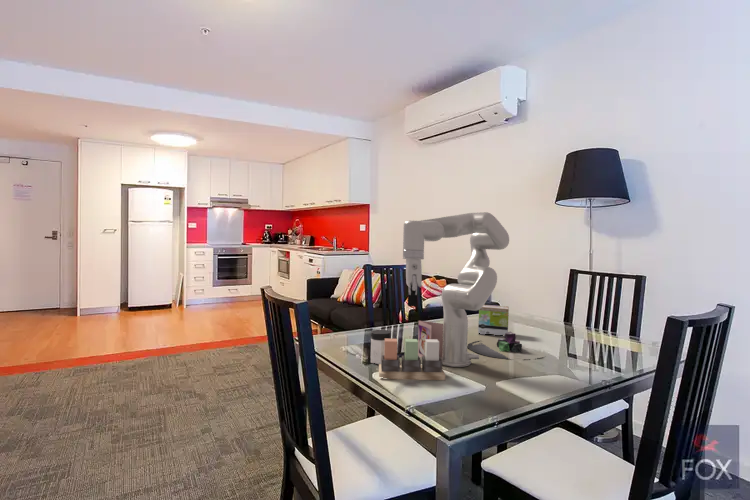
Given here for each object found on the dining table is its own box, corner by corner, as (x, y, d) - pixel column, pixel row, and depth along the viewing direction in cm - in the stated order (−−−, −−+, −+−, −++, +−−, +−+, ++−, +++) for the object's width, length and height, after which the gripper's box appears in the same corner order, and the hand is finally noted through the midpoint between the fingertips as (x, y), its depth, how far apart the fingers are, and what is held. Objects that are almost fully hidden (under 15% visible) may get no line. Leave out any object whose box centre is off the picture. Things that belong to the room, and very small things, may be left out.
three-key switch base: (440, 370, 160) (440, 354, 160) (445, 380, 149) (445, 363, 149) (378, 369, 160) (379, 353, 160) (379, 379, 149) (379, 361, 149)
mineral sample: (555, 363, 174) (555, 340, 174) (467, 356, 181) (467, 334, 181) (539, 348, 208) (540, 329, 208) (466, 342, 215) (466, 324, 215)
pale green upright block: (416, 358, 157) (416, 339, 157) (417, 361, 153) (418, 341, 152) (404, 357, 157) (405, 338, 157) (405, 361, 152) (405, 341, 152)
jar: (365, 362, 169) (366, 332, 169) (375, 357, 176) (376, 328, 176) (385, 365, 165) (386, 335, 165) (395, 360, 172) (395, 331, 172)
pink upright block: (396, 357, 157) (396, 338, 157) (396, 361, 152) (397, 341, 152) (384, 357, 157) (384, 338, 157) (384, 360, 152) (384, 341, 152)
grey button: (436, 358, 157) (437, 339, 157) (438, 361, 153) (439, 342, 152) (424, 358, 157) (425, 339, 157) (426, 361, 153) (426, 342, 152)
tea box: (477, 334, 224) (478, 306, 223) (479, 330, 233) (479, 303, 233) (507, 337, 219) (508, 308, 219) (507, 333, 229) (508, 305, 228)
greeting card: (415, 355, 181) (416, 320, 181) (431, 354, 184) (432, 319, 183) (428, 363, 170) (429, 325, 170) (444, 361, 173) (445, 324, 173)
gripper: (426, 256, 146) (425, 309, 147) (421, 254, 161) (420, 303, 162) (404, 255, 146) (403, 309, 147) (401, 254, 161) (400, 302, 162)
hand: (412, 305), depth 154 cm, fingers closed
